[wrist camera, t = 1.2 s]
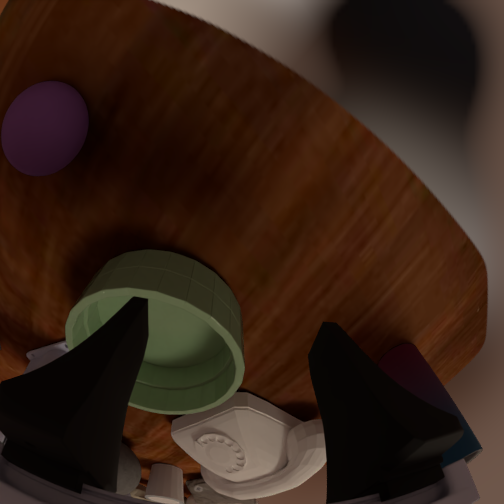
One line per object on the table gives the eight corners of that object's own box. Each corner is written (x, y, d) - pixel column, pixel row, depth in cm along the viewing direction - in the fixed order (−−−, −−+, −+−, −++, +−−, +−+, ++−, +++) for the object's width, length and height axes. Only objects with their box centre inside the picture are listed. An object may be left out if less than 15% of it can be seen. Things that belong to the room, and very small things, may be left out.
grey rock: (179, 475, 39) (186, 464, 43) (193, 507, 38) (199, 496, 42) (254, 476, 37) (257, 463, 41) (264, 508, 36) (266, 496, 40)
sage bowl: (145, 378, 27) (134, 421, 22) (64, 279, 21) (34, 318, 16) (264, 347, 25) (270, 396, 21) (197, 218, 20) (184, 256, 15)
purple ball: (55, 179, 17) (6, 206, 12) (27, 113, 15) (-26, 123, 9) (117, 138, 17) (72, 152, 11) (86, 66, 14) (35, 57, 9)
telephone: (342, 417, 33) (359, 476, 25) (231, 462, 38) (232, 511, 30) (271, 369, 27) (283, 454, 19) (150, 427, 32) (141, 487, 24)
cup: (429, 353, 28) (484, 452, 15) (383, 385, 30) (424, 489, 17) (412, 326, 26) (481, 445, 13) (359, 365, 28) (406, 489, 14)
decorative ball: (97, 419, 31) (81, 478, 22) (156, 447, 35) (149, 503, 26) (78, 433, 34) (64, 482, 25) (129, 458, 38) (121, 505, 29)
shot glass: (165, 460, 38) (161, 495, 32) (193, 472, 40) (192, 504, 34) (140, 464, 39) (136, 495, 33) (168, 476, 42) (166, 505, 36)
